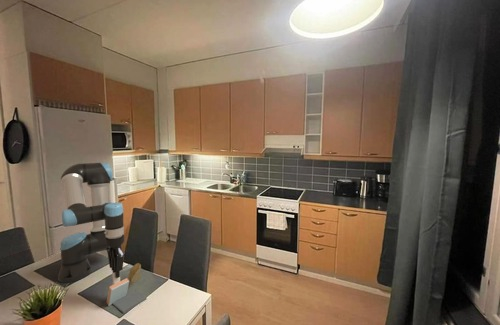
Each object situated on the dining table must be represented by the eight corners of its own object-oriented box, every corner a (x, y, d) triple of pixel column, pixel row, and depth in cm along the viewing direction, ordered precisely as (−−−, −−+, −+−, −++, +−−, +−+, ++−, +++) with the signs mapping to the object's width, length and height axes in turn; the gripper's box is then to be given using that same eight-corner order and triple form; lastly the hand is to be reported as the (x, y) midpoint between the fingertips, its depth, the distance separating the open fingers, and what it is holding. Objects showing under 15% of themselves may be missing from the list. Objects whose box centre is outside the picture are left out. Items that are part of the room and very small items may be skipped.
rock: (128, 287, 112) (146, 275, 120) (121, 272, 114) (139, 261, 122) (122, 291, 119) (140, 280, 127) (116, 277, 120) (134, 266, 128)
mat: (112, 304, 103) (112, 302, 103) (135, 291, 113) (135, 290, 112) (123, 313, 98) (123, 311, 98) (146, 299, 107) (146, 297, 107)
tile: (106, 302, 103) (109, 286, 101) (123, 293, 110) (126, 277, 107) (108, 306, 102) (111, 290, 100) (126, 296, 109) (129, 281, 106)
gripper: (99, 235, 104) (101, 282, 105) (113, 242, 97) (115, 292, 98) (116, 230, 110) (117, 274, 112) (130, 236, 103) (131, 283, 105)
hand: (116, 283), depth 105 cm, fingers closed
